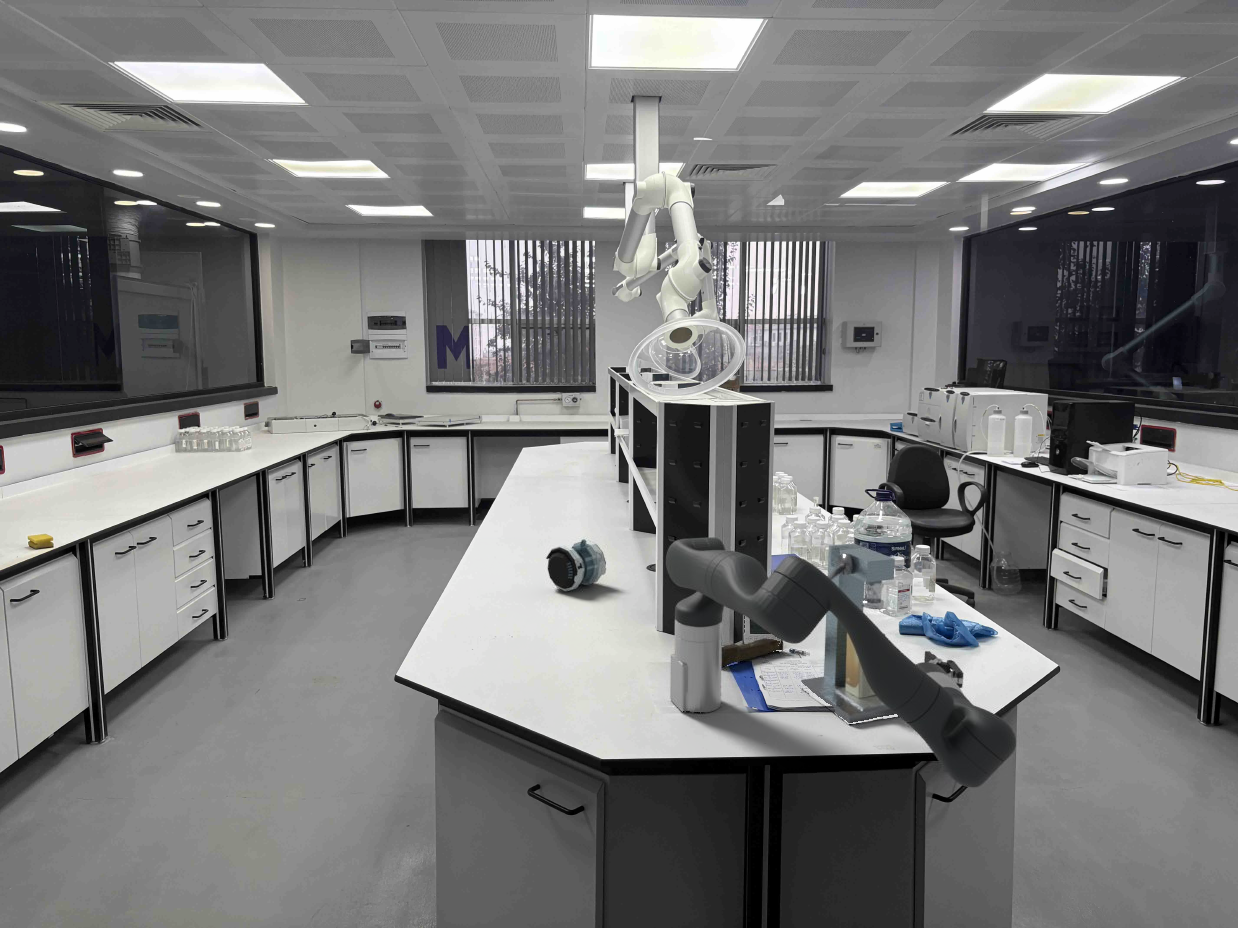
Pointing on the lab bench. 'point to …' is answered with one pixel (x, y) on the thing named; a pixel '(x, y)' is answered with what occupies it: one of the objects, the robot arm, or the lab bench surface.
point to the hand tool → (749, 650)
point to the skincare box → (855, 674)
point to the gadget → (576, 565)
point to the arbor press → (850, 575)
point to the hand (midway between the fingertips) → (902, 655)
